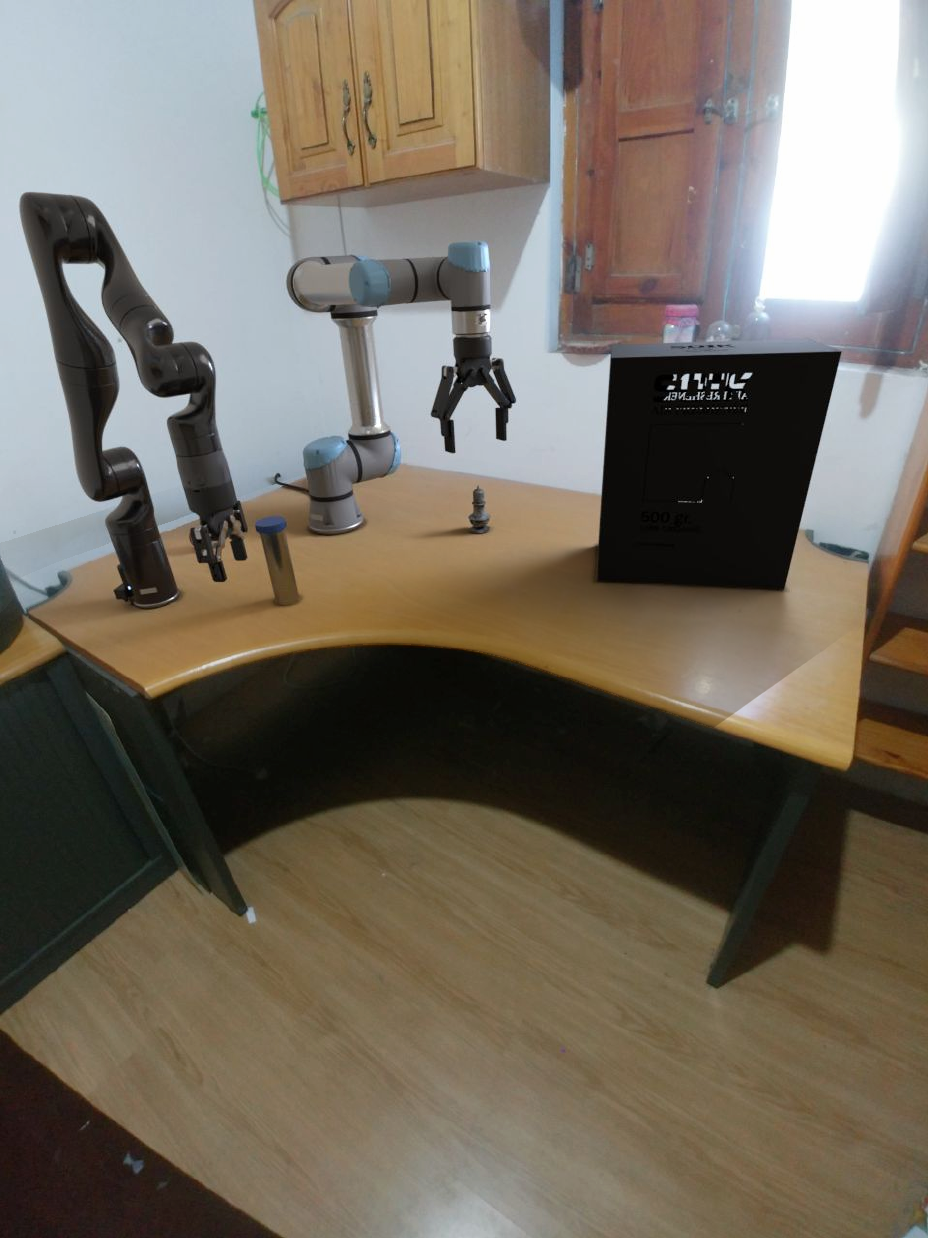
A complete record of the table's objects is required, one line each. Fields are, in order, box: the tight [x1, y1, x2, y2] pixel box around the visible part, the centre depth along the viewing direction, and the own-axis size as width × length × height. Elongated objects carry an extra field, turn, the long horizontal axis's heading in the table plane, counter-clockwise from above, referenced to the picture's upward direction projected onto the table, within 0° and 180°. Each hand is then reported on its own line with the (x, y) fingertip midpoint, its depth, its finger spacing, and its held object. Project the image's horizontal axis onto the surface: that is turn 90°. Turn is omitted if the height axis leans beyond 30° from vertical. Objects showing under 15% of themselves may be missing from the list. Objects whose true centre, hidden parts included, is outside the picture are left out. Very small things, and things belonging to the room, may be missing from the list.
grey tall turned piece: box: [467, 485, 491, 534], centre depth 158 cm, size 6×6×12 cm
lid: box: [254, 515, 288, 534], centre depth 123 cm, size 6×6×2 cm
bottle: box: [259, 528, 300, 606], centre depth 127 cm, size 5×5×18 cm
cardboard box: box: [596, 337, 842, 591], centre depth 125 cm, size 38×20×45 cm, turn 78°
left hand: (231, 570), depth 105 cm, fingers open, 8 cm apart
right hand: (476, 445), depth 127 cm, fingers open, 13 cm apart
